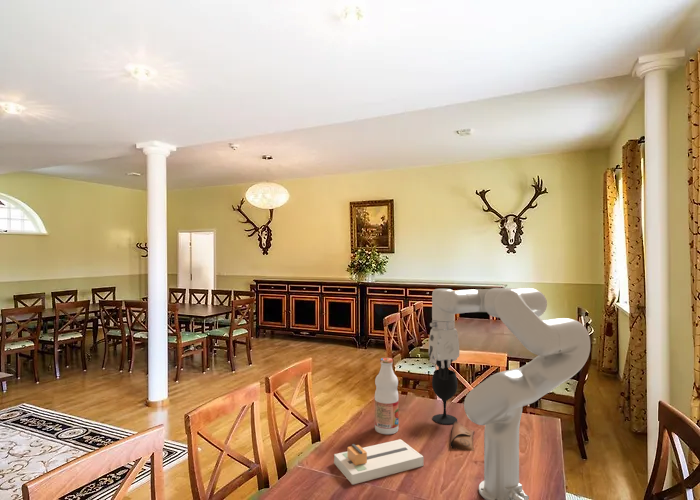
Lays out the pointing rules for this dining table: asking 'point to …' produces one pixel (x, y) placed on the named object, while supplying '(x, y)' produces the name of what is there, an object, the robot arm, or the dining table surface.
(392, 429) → the fruit juice
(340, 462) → the fader console
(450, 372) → the wine glass
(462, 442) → the sunglasses case
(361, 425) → the dining table surface
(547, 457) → the dining table surface
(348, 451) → the fader knob
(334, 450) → the dining table surface
